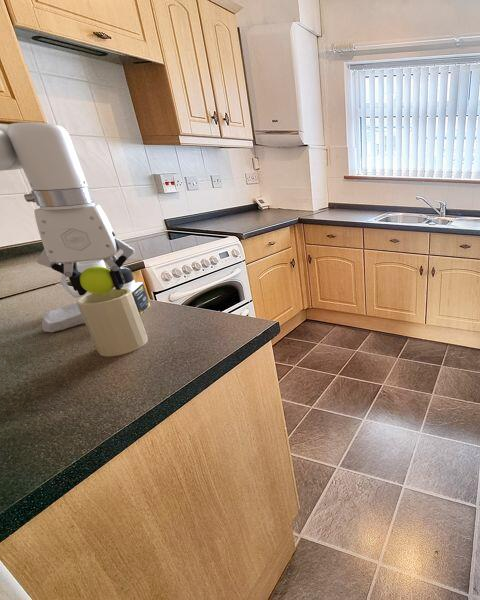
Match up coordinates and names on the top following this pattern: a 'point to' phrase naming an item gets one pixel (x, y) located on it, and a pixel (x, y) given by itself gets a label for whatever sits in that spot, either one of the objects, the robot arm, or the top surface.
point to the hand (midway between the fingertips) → (102, 289)
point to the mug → (81, 267)
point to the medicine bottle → (135, 290)
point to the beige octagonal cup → (113, 321)
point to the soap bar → (62, 318)
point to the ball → (96, 280)
